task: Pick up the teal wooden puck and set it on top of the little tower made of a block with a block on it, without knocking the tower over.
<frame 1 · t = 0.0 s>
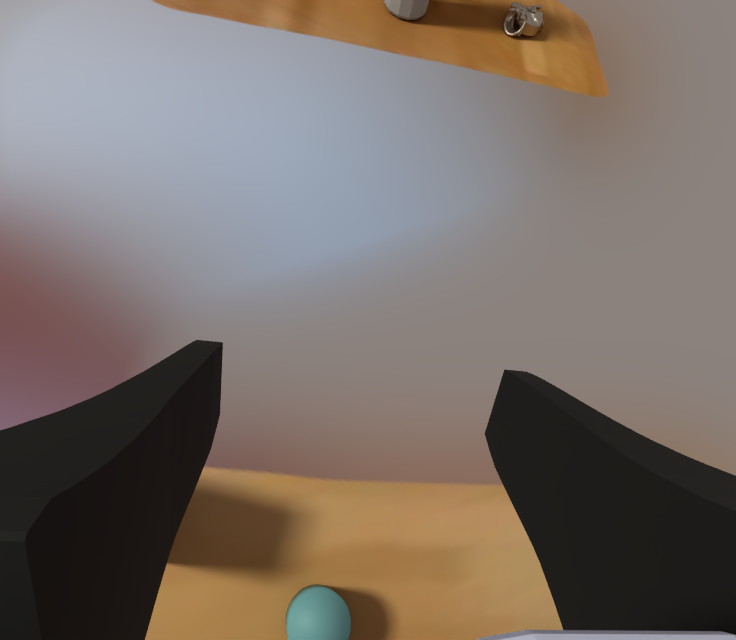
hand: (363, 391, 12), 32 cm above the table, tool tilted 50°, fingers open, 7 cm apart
ornament: (518, 29, 79), on the table
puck: (315, 617, 37), on the table
water bottle: (405, 7, 76), on the table
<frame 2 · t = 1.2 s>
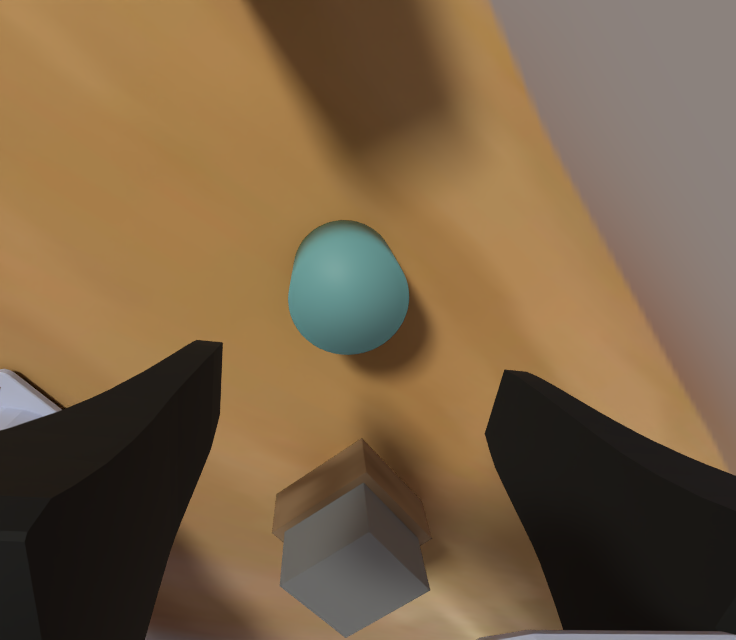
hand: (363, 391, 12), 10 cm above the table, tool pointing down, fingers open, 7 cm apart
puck: (344, 270, 21), on the table
base block: (350, 493, 27), on the table
top block: (352, 535, 24), point 3 cm above the table
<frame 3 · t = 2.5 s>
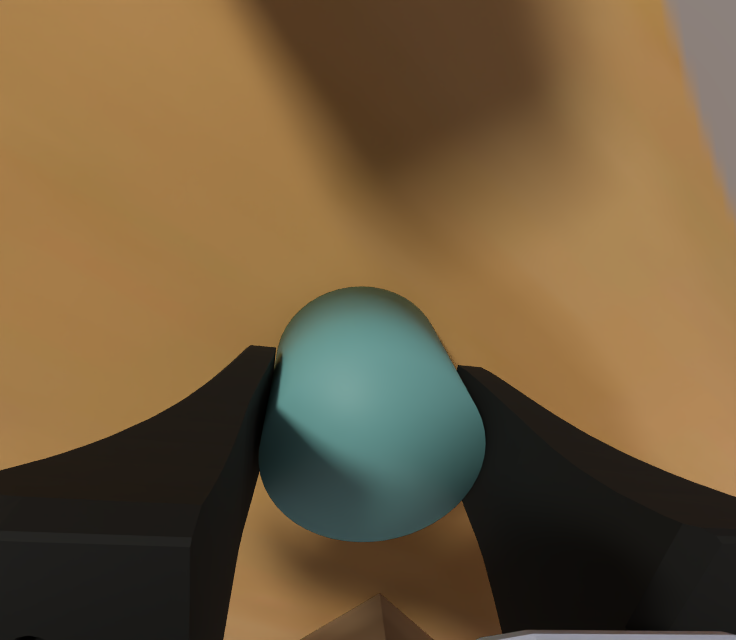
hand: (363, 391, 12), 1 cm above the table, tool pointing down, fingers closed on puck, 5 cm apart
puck: (359, 363, 13), on the table, touching gripper
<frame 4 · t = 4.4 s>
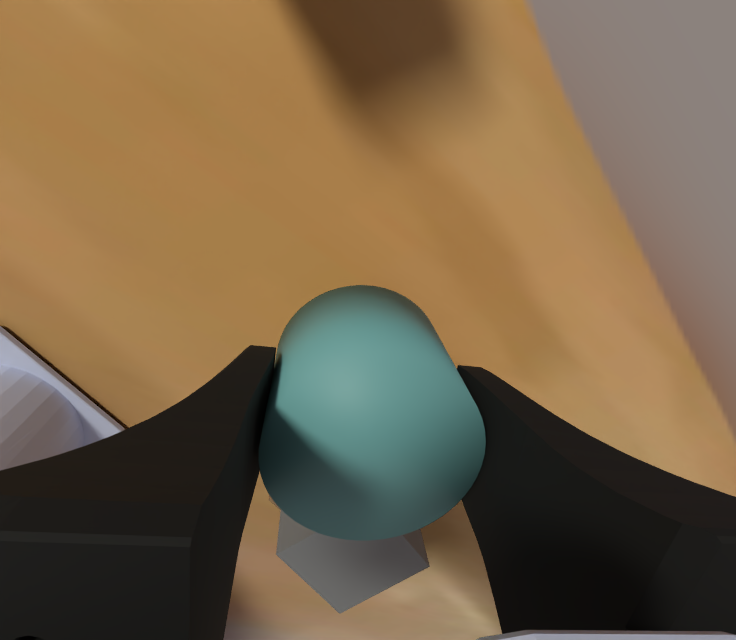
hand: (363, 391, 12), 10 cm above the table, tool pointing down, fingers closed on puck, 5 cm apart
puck: (359, 362, 13), point 9 cm above the table, touching gripper
top block: (351, 509, 23), point 3 cm above the table, touching base block
when the fingers open (8 cm above the table, at t = 6.0 s): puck drops 1 cm, resting on top block.
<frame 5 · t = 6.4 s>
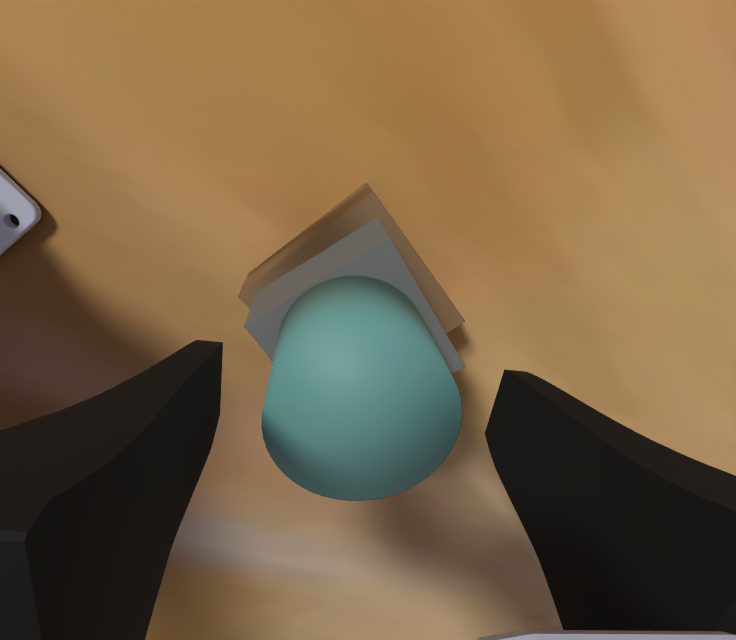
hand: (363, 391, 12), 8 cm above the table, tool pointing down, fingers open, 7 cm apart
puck: (353, 346, 14), point 6 cm above the table, touching top block
base block: (350, 283, 20), on the table, touching top block
top block: (353, 310, 17), point 3 cm above the table, touching base block, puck
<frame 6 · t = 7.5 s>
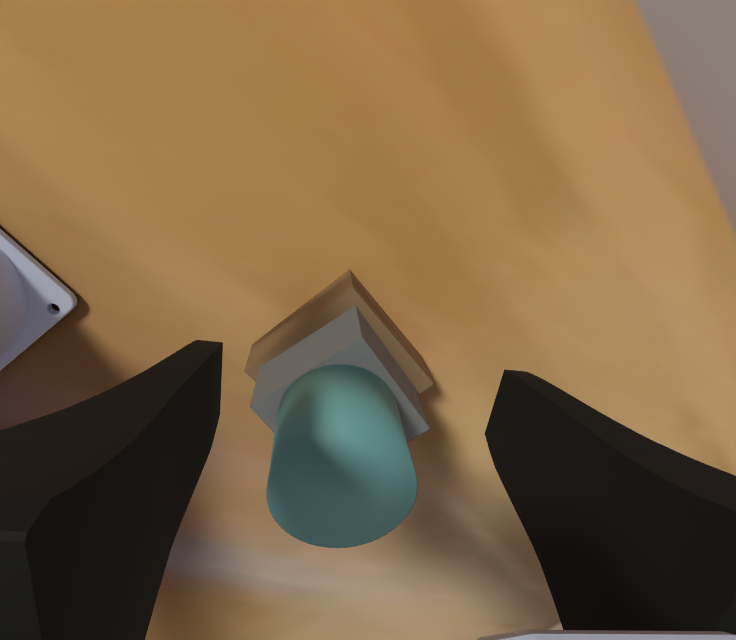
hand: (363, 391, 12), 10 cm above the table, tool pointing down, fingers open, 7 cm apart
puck: (338, 416, 18), point 6 cm above the table, touching top block
base block: (339, 347, 23), on the table, touching top block
top block: (339, 378, 20), point 3 cm above the table, touching base block, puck
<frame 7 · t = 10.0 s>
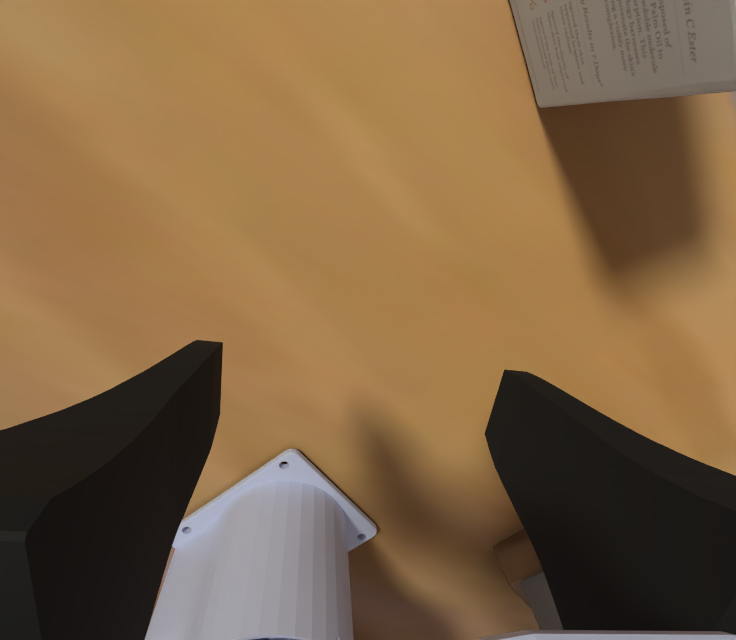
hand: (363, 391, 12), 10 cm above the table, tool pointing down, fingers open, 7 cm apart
base block: (552, 544, 30), on the table, touching top block
top block: (572, 589, 28), point 3 cm above the table, touching base block, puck
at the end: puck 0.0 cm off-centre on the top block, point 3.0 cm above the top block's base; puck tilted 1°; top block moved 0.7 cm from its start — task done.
